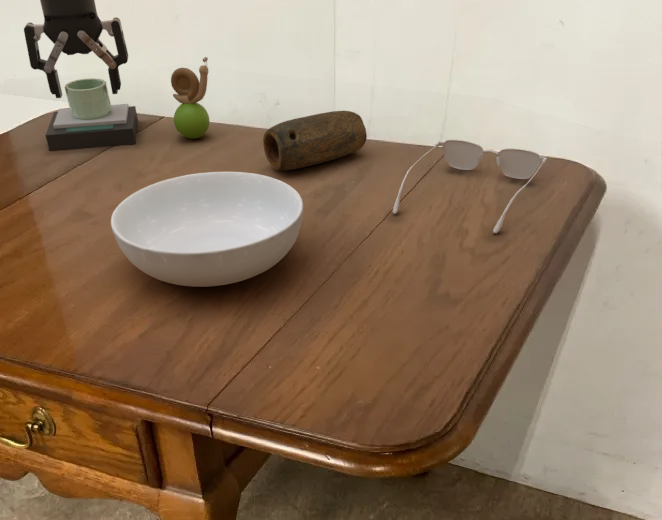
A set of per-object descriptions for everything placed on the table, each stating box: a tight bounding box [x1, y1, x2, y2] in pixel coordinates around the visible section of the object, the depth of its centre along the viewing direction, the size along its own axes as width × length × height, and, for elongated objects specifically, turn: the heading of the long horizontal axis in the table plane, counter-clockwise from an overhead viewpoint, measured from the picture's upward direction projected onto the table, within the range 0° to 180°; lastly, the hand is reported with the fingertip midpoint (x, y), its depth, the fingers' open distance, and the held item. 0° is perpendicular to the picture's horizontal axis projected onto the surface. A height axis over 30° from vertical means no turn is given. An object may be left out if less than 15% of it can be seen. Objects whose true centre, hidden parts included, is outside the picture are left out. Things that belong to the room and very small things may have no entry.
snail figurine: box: [170, 56, 210, 140], centre depth 117 cm, size 5×6×12 cm
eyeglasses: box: [392, 139, 548, 234], centre depth 100 cm, size 15×18×4 cm
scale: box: [45, 103, 139, 151], centre depth 122 cm, size 13×11×3 cm
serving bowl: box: [110, 171, 304, 288], centre depth 86 cm, size 21×21×7 cm
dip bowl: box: [64, 77, 112, 119], centre depth 120 cm, size 6×6×4 cm
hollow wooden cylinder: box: [262, 110, 368, 172], centre depth 110 cm, size 15×7×7 cm, turn 130°
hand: (87, 94), depth 120 cm, fingers open, 8 cm apart
